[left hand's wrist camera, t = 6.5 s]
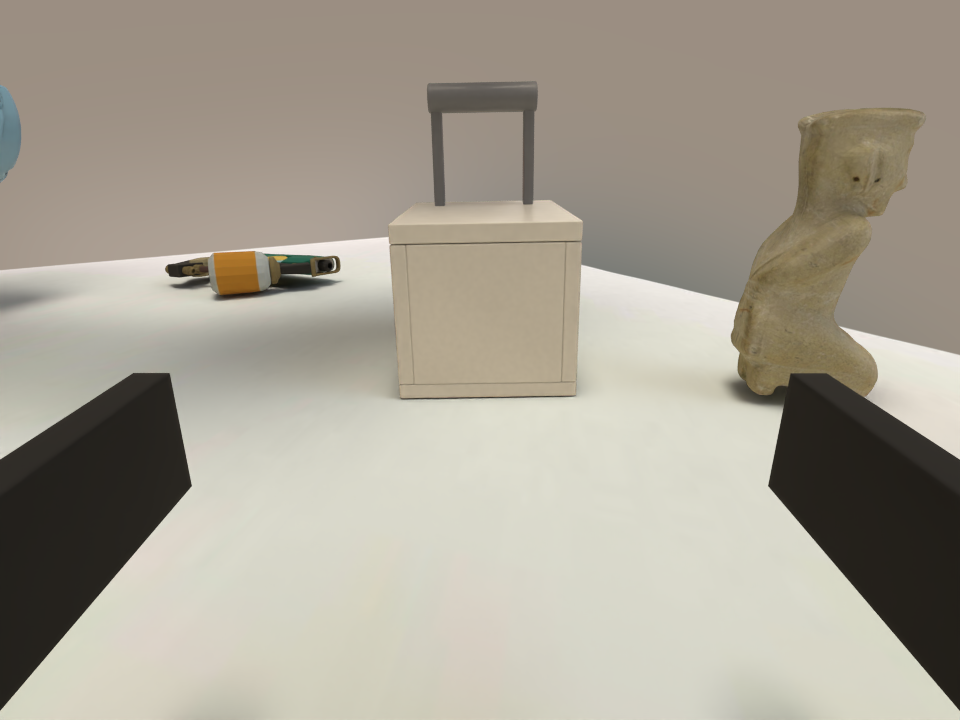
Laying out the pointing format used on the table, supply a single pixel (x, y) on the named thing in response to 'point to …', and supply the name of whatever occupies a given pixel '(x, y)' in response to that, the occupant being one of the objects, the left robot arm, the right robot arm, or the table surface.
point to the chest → (486, 318)
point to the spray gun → (251, 269)
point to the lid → (487, 216)
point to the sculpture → (822, 250)
